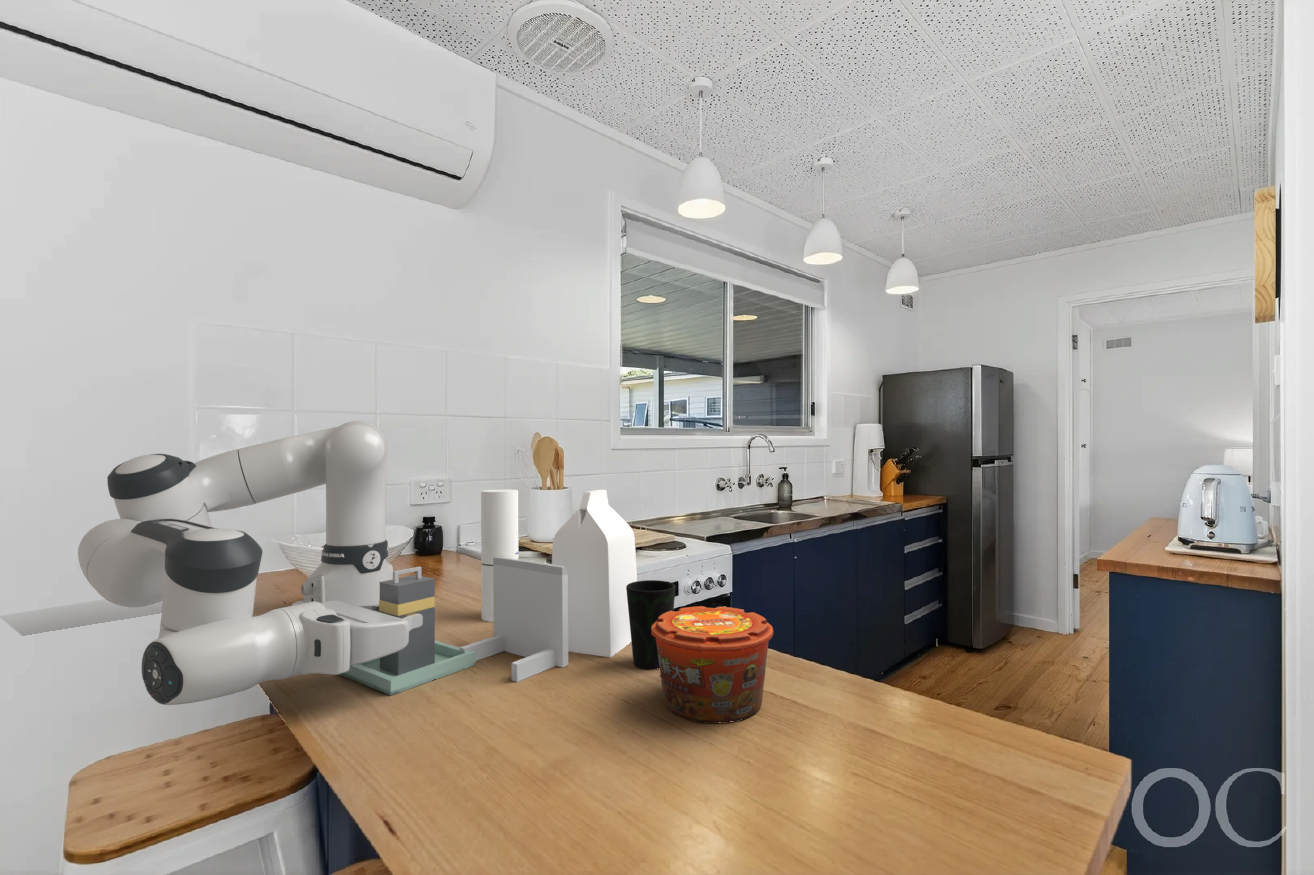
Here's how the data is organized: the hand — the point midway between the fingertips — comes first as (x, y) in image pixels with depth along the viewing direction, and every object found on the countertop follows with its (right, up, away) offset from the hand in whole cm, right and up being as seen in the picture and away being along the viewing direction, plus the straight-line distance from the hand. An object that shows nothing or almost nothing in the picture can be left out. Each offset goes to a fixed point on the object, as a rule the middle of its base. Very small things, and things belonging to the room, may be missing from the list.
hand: (401, 613), depth 92 cm
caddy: (+1, -8, +1) cm, 8 cm away
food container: (+46, -8, -12) cm, 48 cm away
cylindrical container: (+7, -9, +29) cm, 32 cm away
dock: (+15, -9, +3) cm, 18 cm away
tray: (+1, -9, +1) cm, 9 cm away
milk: (+28, -9, +13) cm, 32 cm away
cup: (+38, -9, +3) cm, 39 cm away
